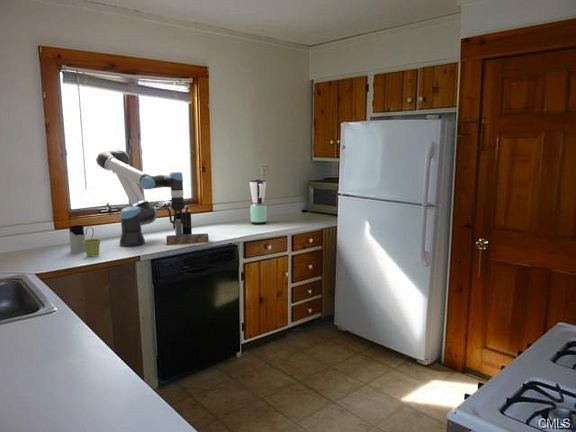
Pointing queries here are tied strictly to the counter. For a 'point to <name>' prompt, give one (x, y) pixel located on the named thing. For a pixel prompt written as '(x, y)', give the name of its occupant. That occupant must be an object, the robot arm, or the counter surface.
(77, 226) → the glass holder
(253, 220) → the mint green blender
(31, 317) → the counter surface
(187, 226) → the coffee jar
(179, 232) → the fader
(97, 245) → the plant pot
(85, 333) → the counter surface
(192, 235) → the block
